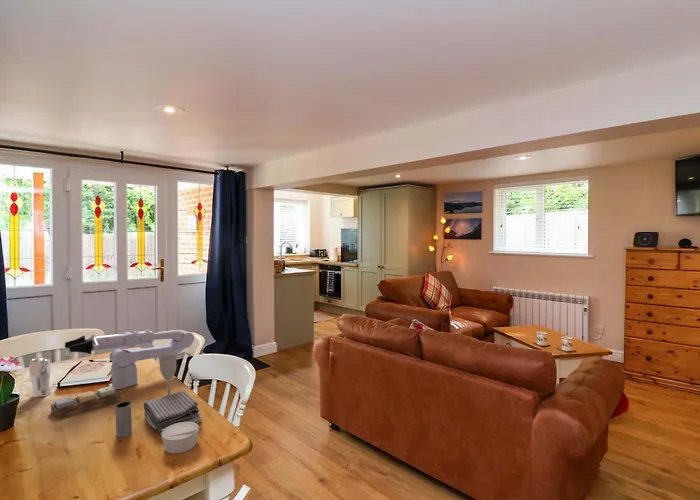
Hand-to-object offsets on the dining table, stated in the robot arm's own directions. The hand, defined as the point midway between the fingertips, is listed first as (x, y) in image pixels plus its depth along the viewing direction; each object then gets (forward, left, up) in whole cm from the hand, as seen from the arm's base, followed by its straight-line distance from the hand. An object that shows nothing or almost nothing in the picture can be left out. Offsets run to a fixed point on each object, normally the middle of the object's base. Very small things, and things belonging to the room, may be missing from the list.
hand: (67, 347), depth 157 cm
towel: (-21, +48, -22) cm, 57 cm away
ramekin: (-16, +67, -22) cm, 72 cm away
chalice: (-27, +31, -22) cm, 47 cm away
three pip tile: (+4, +12, -19) cm, 23 cm away
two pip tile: (-3, +12, -19) cm, 23 cm away
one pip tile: (-10, +12, -19) cm, 25 cm away
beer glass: (+7, -14, -22) cm, 27 cm away
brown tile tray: (-3, +12, -22) cm, 25 cm away
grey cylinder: (-6, +46, -22) cm, 51 cm away
